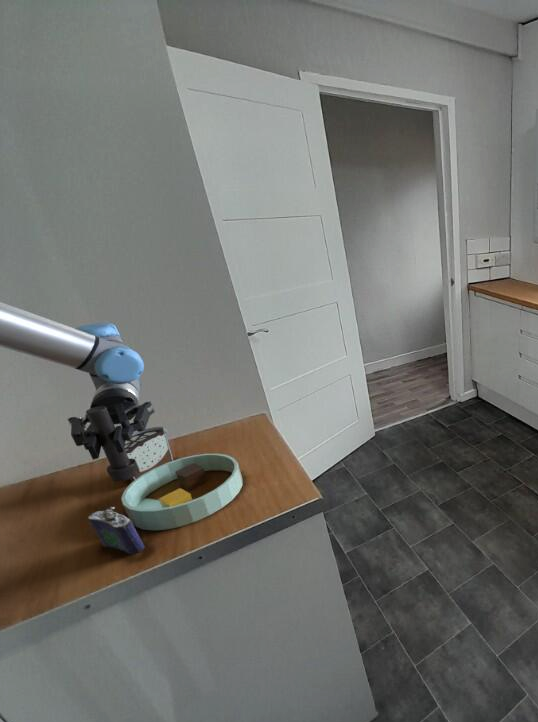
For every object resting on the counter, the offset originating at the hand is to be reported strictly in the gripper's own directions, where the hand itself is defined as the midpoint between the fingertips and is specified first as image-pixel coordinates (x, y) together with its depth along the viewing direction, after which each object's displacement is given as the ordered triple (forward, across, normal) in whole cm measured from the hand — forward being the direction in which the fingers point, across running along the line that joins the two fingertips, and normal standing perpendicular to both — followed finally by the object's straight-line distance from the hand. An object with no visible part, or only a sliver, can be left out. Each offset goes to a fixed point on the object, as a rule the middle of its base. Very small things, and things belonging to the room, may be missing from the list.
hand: (105, 449), depth 75 cm
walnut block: (-11, -9, -19) cm, 24 cm away
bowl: (-6, -8, -20) cm, 22 cm away
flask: (+6, +2, -20) cm, 21 cm away
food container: (-25, 0, -20) cm, 32 cm away
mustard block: (-2, -6, -19) cm, 20 cm away
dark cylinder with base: (-5, 0, -9) cm, 11 cm away
